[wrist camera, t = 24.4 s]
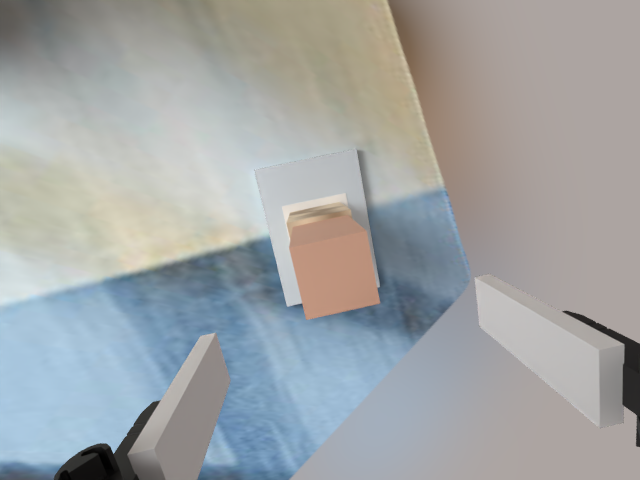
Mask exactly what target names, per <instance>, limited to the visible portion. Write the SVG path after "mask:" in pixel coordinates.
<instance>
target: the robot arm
mask: <svg viewBox="0 0 640 480" xmlns="http://www.w3.org/2000/svg"><path fill="white" fill-rule="evenodd" d="M475 286H476V296H477V306H478V317H479V326H480V327H481V328H482V329H483V330H484V331H485V332H487V333H488V334H489V335H490V336H491V337H493V338H494V339H495V340H496V341H497V342H498V343H500V344H501V345H502V346H503V347H504V348H506V349H507V350H508V351H509V352H510V353H511V354H513V355H514V356H515V357H516V358H517V359H519V360H520V361H521V362H522V363H523V364H524V365H526V366H527V367H528V368H529V369H530V370H532V371H533V372H534V373H535V374H536V375H537V376H539V377H540V378H541V379H542V380H543V381H545V382H546V383H547V384H548V385H549V386H550V387H552V388H553V389H554V390H555V391H556V392H558V393H559V394H560V395H561V396H562V397H564V398H565V399H566V400H567V401H568V402H569V403H571V404H572V405H573V406H574V407H575V408H577V409H578V410H579V411H580V412H581V413H582V414H584V415H585V416H586V417H587V418H588V419H590V420H591V421H592V422H593V423H594V424H595V425H597V426H598V427H599V428H603V427H608V426H612V425H616V424H621V423H624V406H625V407H626V408H628V409H629V410H631V411H632V412H634V413H635V414H636V415H637V434H636V435H637V436H636V446H637V447H640V344H639V343H637V342H635V341H633V340H631V339H629V338H627V337H625V336H623V335H621V334H619V333H617V332H615V331H613V330H611V329H607V327H605V326H603V325H601V324H599V323H596V322H595V321H593V320H591V319H589V318H587V317H585V316H583V315H580V314H576V313H572V312H569V311H560V310H558V309H556V308H554V307H552V306H550V305H548V304H546V303H544V302H543V301H541V300H539V299H537V298H535V297H533V296H531V295H529V294H527V293H525V292H523V291H521V290H520V289H518V288H516V287H513V286H512V285H510V284H508V283H506V282H504V281H502V280H500V279H499V278H497V277H495V276H493V275H491V274H486V275H482V276H477V277H475ZM229 384H230V377H229V374H228V371H227V367H226V364H225V361H224V358H223V354H222V351H221V348H220V344H219V341H218V338H217V334H216V333H212V334H208V335H203V336H200V338H199V340H198V341H197V343H196V344H195V346H194V348H193V349H192V351H191V352H190V354H189V356H188V357H187V359H186V361H185V362H184V364H183V365H182V367H181V369H180V370H179V372H178V373H177V375H176V377H175V378H174V380H173V382H172V383H171V385H170V386H169V388H168V390H167V391H166V393H165V394H164V396H163V398H162V399H161V400H160V401H156V402H153V403H151V404H150V405H149V406H148V407H147V408H146V409H145V410H144V411H143V412H142V413H141V414H140V416H139V417H138V419H137V420H136V422H135V423H134V426H133V427H132V428H131V429H130V431H129V432H128V434H127V436H126V437H125V438H124V440H123V441H122V442H121V444H120V445H119V447H118V448H117V450H116V451H115V453H114V454H113V452H112V450H111V447H110V446H109V445H108V444H101V443H100V444H96V445H93V446H90V447H88V448H86V449H84V450H82V451H80V452H79V453H77V454H76V455H75V456H73V457H72V458H70V459H69V460H68V461H67V462H66V463H65V464H64V465H63V466H62V467H61V468H60V469H59V471H58V472H57V473H56V475H55V477H54V480H197V479H198V476H199V473H200V470H201V467H202V464H203V461H204V458H205V455H206V452H207V449H208V446H209V443H210V440H211V437H212V434H213V431H214V428H215V425H216V422H217V419H218V417H219V414H220V411H221V408H222V405H223V402H224V399H225V396H226V393H227V390H228V387H229Z"/></svg>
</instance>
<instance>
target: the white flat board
mask: <svg viewBox="0 0 640 480" xmlns="http://www.w3.org/2000/svg"><path fill="white" fill-rule="evenodd" d="M254 171H255V176H256V180H257V184H258V188H259V192H260V196H261V200H262V205H263V209H264V213H265V217H266V221H267V225H268V229H269V234H270V238H271V242H272V246H273V250H274V254H275V258H276V263H277V267H278V271H279V275H280V279H281V283H282V287H283V292H284V296H285V300H286V304H287V306H292V305H297V304H301V303H302V300H301V296H300V291H299V287H298V283H297V279H296V275H295V271H294V266H293V262H292V258H291V254H290V250H289V245H290V237H289V232H288V228H287V224H286V223H287V220H288V217H289V214H290V212H295V211H299V210H304V209H309V208H313V207H318V206H323V205H327V204H332V203H337V202H340V203H342V204H343V205H345V206H346V207H348V208H349V209H351V214H352V219H353V220H354V221H356V222H357V223H358V224H359V225H360V226H361V227H363V228H364V229H365V230H366V231H367V235H368V241H369V246H370V252H371V257H372V263H373V268H374V273H375V279H376V284H377V287H380V283H379V278H378V272H377V266H376V260H375V254H374V248H373V242H372V237H371V231H370V225H369V219H368V213H367V207H366V201H365V196H364V190H363V184H362V178H361V172H360V166H359V161H358V155H357V149H353V150H348V151H343V152H338V153H333V154H328V155H323V156H319V157H314V158H309V159H304V160H299V161H294V162H290V163H285V164H280V165H275V166H270V167H265V168H261V169H256V170H254Z"/></svg>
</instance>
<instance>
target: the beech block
mask: <svg viewBox="0 0 640 480" xmlns="http://www.w3.org/2000/svg"><path fill="white" fill-rule="evenodd" d="M345 215H348V216H350V217H351V218H352V214H351V209H349V208H348V207H346V206H345V205H343V204H342V203H340V202H337V203H332V204H327V205H323V206H318V207H313V208H309V209H304V210H299V211H295V212H290V214H289V217H288V220H287V223H286V224H287V228H288V232H289V237H290V240H291V234H292V228H293V227H294V226H299V225H303V224H308V223H313V222H317V221H322V220H326V219H331V218H335V217H340V216H345Z"/></svg>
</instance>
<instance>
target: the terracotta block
mask: <svg viewBox="0 0 640 480" xmlns="http://www.w3.org/2000/svg"><path fill="white" fill-rule="evenodd" d="M289 250H290V254H291V258H292V262H293V266H294V271H295V275H296V279H297V283H298V287H299V291H300V296H301V300H302V304H303V308H304V312H305V316H306V320H308V319H313V318H317V317H322V316H326V315H330V314H335V313H339V312H344V311H348V310H353V309H357V308H362V307H366V306H371V305H375V304H380V301H379V295H378V290H377V284H376V279H375V273H374V268H373V263H372V257H371V252H370V246H369V241H368V235H367V231H366V230H365V229H364V228H363V227H361V226H360V225H359V224H358V223H357V222H356V221H354V220H353V219H352V218H351V217H350V216H348V215H345V216H340V217H335V218H331V219H326V220H322V221H317V222H313V223H308V224H303V225H299V226H294V227H293V228H292V234H291V240H290V245H289Z"/></svg>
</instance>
